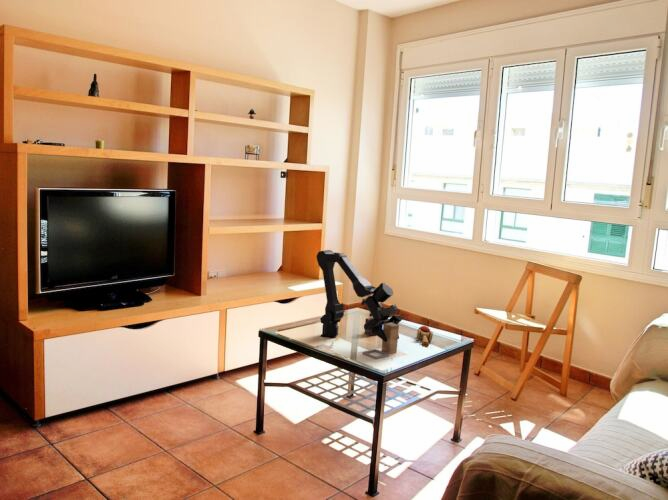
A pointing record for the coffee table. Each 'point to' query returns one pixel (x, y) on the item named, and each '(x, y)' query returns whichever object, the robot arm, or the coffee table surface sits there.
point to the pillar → (390, 338)
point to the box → (371, 329)
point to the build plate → (380, 354)
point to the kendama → (424, 335)
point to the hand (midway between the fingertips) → (392, 340)
